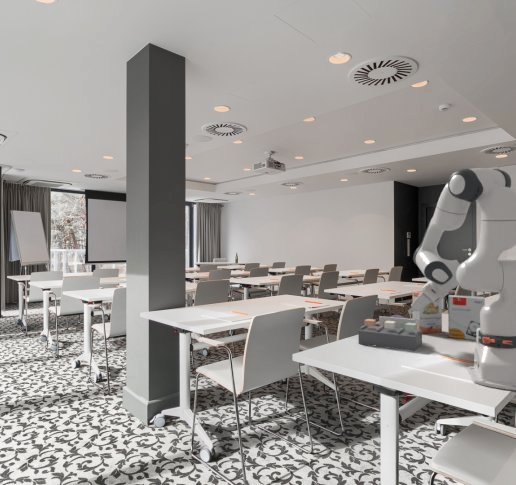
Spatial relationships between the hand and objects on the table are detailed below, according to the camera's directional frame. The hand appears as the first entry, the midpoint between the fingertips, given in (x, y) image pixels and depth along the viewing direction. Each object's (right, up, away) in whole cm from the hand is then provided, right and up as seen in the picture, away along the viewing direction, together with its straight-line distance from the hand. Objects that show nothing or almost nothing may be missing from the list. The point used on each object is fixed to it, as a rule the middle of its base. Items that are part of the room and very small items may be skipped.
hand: (409, 312), depth 169 cm
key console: (-6, -15, +6) cm, 17 cm away
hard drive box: (+34, -15, +16) cm, 40 cm away
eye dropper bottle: (+32, -15, -2) cm, 35 cm away
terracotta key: (-15, -8, +9) cm, 19 cm away
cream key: (-7, -8, +4) cm, 11 cm away
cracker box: (+21, -16, +29) cm, 39 cm away
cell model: (+3, -16, +24) cm, 29 cm away
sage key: (0, -7, -1) cm, 8 cm away
